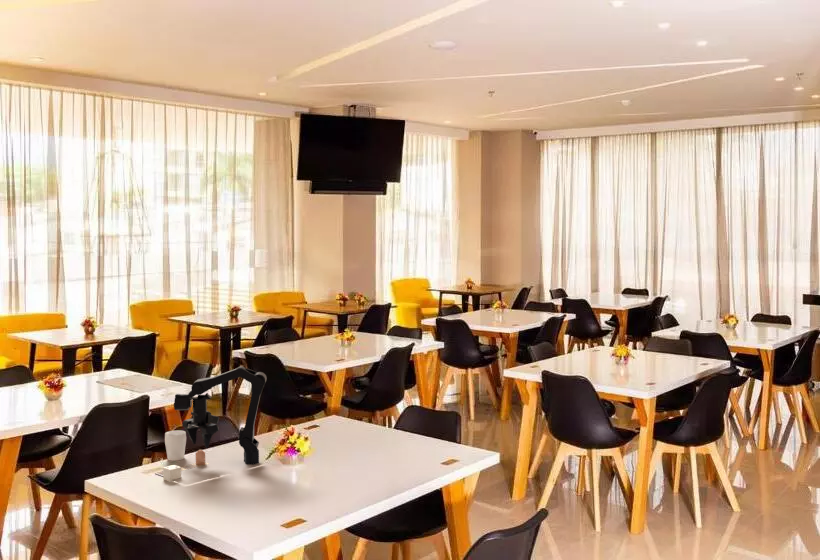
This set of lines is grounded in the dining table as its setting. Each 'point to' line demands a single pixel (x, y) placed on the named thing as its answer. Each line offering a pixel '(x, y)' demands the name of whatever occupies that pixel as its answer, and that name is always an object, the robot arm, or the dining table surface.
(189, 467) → the track
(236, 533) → the dining table surface
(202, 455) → the pawn
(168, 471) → the die
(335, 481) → the dining table surface
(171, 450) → the cup
